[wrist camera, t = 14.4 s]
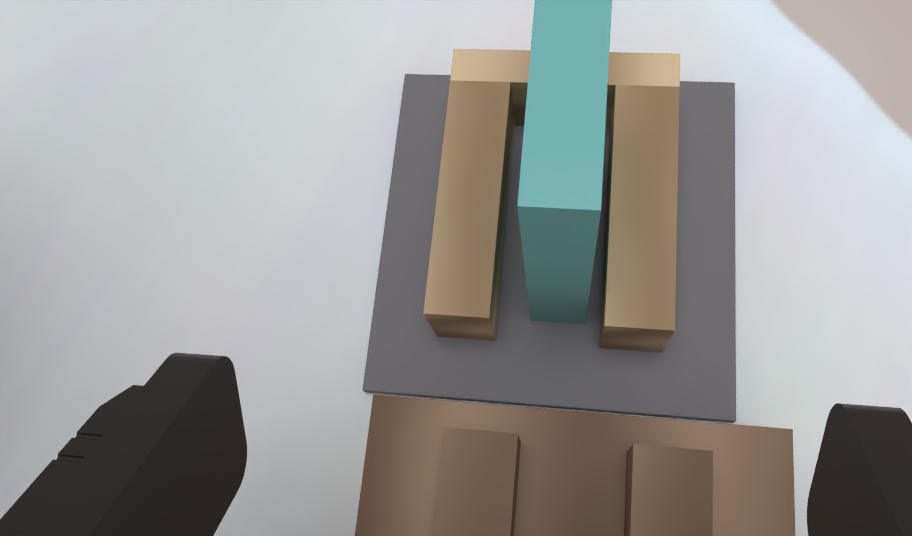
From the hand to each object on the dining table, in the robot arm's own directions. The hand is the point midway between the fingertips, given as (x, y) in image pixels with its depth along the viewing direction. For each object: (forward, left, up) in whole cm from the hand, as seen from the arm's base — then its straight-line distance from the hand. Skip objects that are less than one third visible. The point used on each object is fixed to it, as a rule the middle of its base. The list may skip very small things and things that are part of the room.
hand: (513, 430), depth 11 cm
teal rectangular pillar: (0, +8, -15) cm, 17 cm away
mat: (0, +9, -16) cm, 18 cm away
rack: (0, +9, -15) cm, 18 cm away
